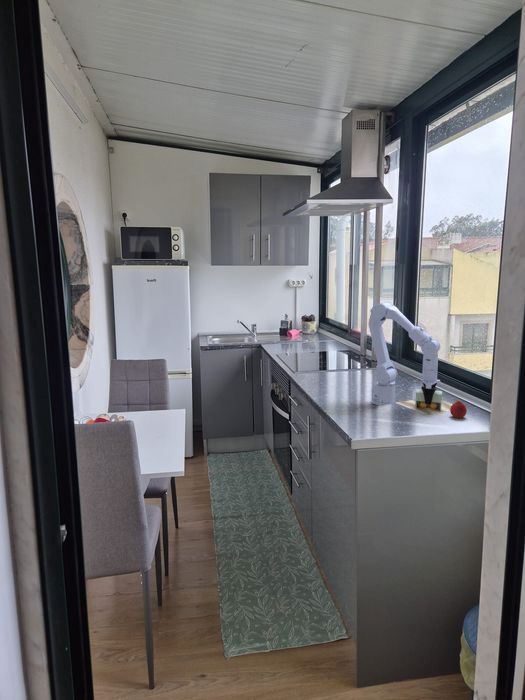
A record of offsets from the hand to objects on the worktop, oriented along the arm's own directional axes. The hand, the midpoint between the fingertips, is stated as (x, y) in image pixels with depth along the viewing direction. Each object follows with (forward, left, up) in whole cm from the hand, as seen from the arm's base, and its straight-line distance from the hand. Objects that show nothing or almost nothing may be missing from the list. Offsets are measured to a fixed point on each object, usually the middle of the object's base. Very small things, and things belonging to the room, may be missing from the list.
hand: (428, 401), depth 187 cm
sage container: (0, 0, -3) cm, 3 cm away
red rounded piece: (+2, -14, -4) cm, 15 cm away
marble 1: (-1, +1, -1) cm, 2 cm away
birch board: (+3, +3, -4) cm, 6 cm away
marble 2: (+1, -1, -1) cm, 2 cm away
